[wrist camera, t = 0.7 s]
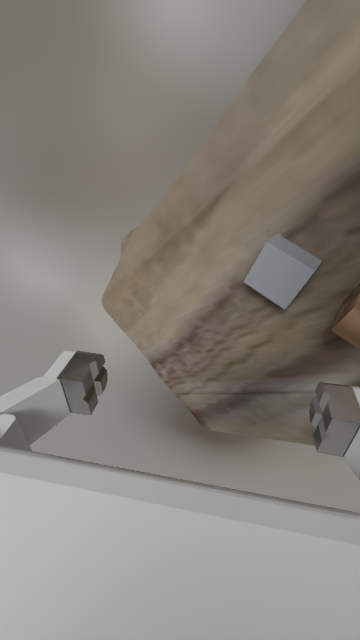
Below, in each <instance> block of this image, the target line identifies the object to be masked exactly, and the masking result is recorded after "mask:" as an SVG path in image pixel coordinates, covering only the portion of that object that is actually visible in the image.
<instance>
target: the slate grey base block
mask: <svg viewBox="0 0 360 640" xmlns="http://www.w3.org/2000/svg"><path fill="white" fill-rule="evenodd" d="M321 262H322V261H321V260H320V259H318V258H316V257H315V256H313V255H312V254H310V253H308V252H307V251H305V250H303V249H302V248H300V247H298V246H297V245H295V244H293V243H292V242H290V241H289V240H287V239H285V238H284V237H282V236H280V235H279V234H276V235H275V236H273V237H272V238H271V239H270V240H268V241H267V243H266V244H265V246H264V248H263V249H262V251H261V253H260V255H259V256H258V258H257V260H256V262H255V263H254V265H253V267H252V268H251V270H250V272H249V274H248V275H247V277H246V279H245V280H244V283H246V284H247V285H249V286H250V287H252V288H253V289H255V290H256V291H258V292H259V293H261V294H262V295H264V296H265V297H267V298H268V299H270V300H271V301H272V302H274V303H275V304H277V305H278V306H280V307H281V308H283V309H284V310H285V309H286V308H287V307H288V305H289V304H290V303H291V301H292V300H293V299H294V298H295V296H296V295H297V294H298V293H299V291H300V290H301V289H302V287H303V286H304V285H305V284H306V282H307V281H308V280H309V278H310V277H311V276H312V275H313V273H314V272H315V271H316V269H317V268H318V266H319V265H320V264H321Z"/></svg>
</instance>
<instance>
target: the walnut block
mask: <svg viewBox="0 0 360 640" xmlns="http://www.w3.org/2000/svg"><path fill="white" fill-rule="evenodd" d="M331 331H333V332H334V333H336V334H337V335H339V336H340V337H342V338H343V339H345V340H346V341H348V342H349V343H351V344H352V345H354V346H355V347H357V348H358V349H360V285H359V286H358V287H357V288H356V289H355V290H354V291H353V292H352V293H351V294H350V295H349V296H348V297H347V298H346V300H345V301H344V302H343V304H342V306H341V309H340V311H339V313H338V315H337V318H336V320H335V322H334V324H333V327H332V329H331Z"/></svg>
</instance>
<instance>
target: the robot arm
mask: <svg viewBox="0 0 360 640" xmlns="http://www.w3.org/2000/svg"><path fill="white" fill-rule="evenodd" d="M104 363H105V359H104V356H103V355H102V354H96V353H90V352H83V351H75V350H68V349H67V350H65V351H63V353H62V354H61V355H60V356H59V358H58V359H57V360H56V362H55V363H54V364H53V365H52V366H51V368H50V369H49V370H48V371H47V373H46V374H45V375H44V377H38V378H36V379H34V380H32V381H30V382H28V383H26V384H24V385H22V386H20V387H18V388H16V389H14V390H12V391H10V392H9V393H6V394H4V395H2V396H0V640H360V513H357V512H352V511H347V510H342V509H336V508H331V507H326V506H320V505H315V504H309V503H304V502H299V501H294V500H288V499H283V498H278V497H273V496H267V495H261V494H257V493H251V492H246V491H241V490H235V489H230V488H225V487H219V486H214V485H208V484H203V483H197V482H193V481H187V480H182V479H177V478H171V477H166V476H160V475H156V474H150V473H145V472H140V471H134V470H129V469H124V468H119V467H113V466H108V465H102V464H97V463H92V462H87V461H81V460H76V459H70V458H65V457H60V456H55V455H49V454H44V453H39V452H34V451H32V450H31V448H30V446H29V445H31V444H32V443H33V442H34V441H36V440H37V439H38V438H40V437H41V436H42V435H44V434H45V433H46V432H48V431H49V430H50V429H51V428H53V427H54V426H55V425H57V424H58V423H59V422H60V421H62V420H63V419H64V418H66V417H67V416H68V415H69V414H70V413H78V414H86V415H91V414H92V412H93V410H94V409H95V407H96V405H97V403H98V399H97V396H99V395H100V394H102V393H103V391H104V389H105V387H106V383H107V370H106V369H105V368H104V367H103V365H104ZM316 394H317V396H316V397H314V398H312V401H311V404H310V412H309V413H310V421H311V425H312V426H313V427H314V428H315V429H316V430H315V432H314V435H313V436H314V441H315V445H316V450H317V452H319V453H324V454H329V455H335V456H340V457H343V459H344V460H345V461H346V463H347V464H348V465H349V467H350V468H351V469H352V470H353V472H354V473H355V474H356V476H357V477H358V478H359V479H360V387H355V386H346V385H337V384H329V383H321V382H320V383H319V384H318V385H317V387H316Z"/></svg>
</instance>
